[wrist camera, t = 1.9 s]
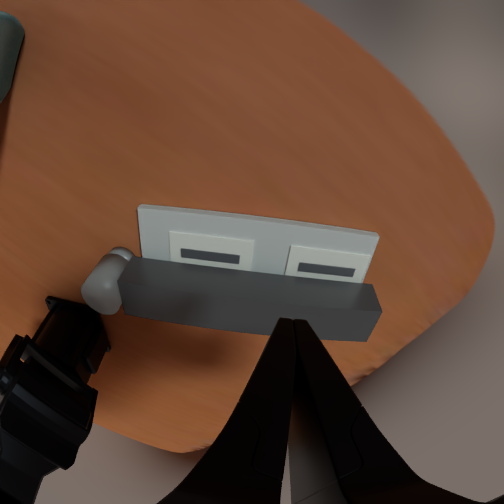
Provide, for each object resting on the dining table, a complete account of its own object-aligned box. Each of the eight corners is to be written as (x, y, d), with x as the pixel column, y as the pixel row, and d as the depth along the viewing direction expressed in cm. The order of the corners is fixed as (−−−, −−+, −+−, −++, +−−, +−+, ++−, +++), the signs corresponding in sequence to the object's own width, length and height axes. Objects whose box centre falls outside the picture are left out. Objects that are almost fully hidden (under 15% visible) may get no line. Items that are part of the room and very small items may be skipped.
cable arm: (104, 282, 22) (86, 310, 19) (96, 251, 20) (76, 277, 17) (359, 314, 22) (367, 346, 19) (372, 284, 20) (383, 316, 17)
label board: (119, 304, 25) (115, 311, 24) (99, 200, 19) (93, 206, 18) (337, 332, 25) (339, 340, 24) (376, 232, 19) (380, 239, 18)
